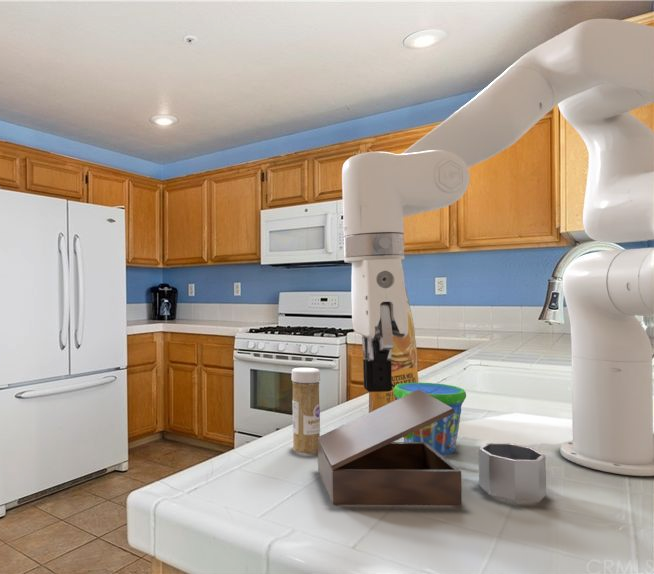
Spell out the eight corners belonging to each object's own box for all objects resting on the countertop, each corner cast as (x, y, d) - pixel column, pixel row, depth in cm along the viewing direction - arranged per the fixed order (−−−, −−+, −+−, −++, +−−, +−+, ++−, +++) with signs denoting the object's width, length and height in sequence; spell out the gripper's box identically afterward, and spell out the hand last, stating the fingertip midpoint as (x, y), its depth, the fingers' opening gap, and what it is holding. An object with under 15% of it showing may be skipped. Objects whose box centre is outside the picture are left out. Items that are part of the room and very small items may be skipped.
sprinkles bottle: (317, 458, 76) (317, 371, 76) (289, 455, 78) (288, 370, 78) (323, 449, 81) (322, 367, 81) (295, 446, 82) (295, 366, 82)
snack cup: (429, 434, 88) (428, 377, 88) (488, 450, 79) (487, 387, 80) (371, 450, 80) (370, 388, 80) (429, 470, 71) (429, 399, 71)
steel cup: (524, 484, 66) (523, 443, 66) (556, 507, 59) (555, 461, 59) (472, 483, 66) (471, 442, 66) (498, 506, 59) (497, 460, 59)
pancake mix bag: (347, 421, 97) (345, 280, 97) (405, 407, 108) (403, 280, 108) (374, 429, 92) (373, 279, 92) (433, 413, 103) (431, 279, 103)
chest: (426, 474, 69) (426, 442, 69) (462, 510, 58) (461, 471, 58) (318, 474, 70) (317, 441, 70) (332, 509, 59) (332, 470, 59)
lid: (421, 392, 69) (419, 389, 69) (455, 412, 58) (453, 408, 58) (318, 441, 70) (316, 437, 70) (333, 470, 59) (331, 465, 59)
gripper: (424, 244, 57) (428, 403, 57) (385, 253, 72) (389, 379, 72) (358, 246, 57) (363, 404, 57) (334, 254, 72) (337, 380, 72)
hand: (377, 390), depth 64 cm, fingers closed
